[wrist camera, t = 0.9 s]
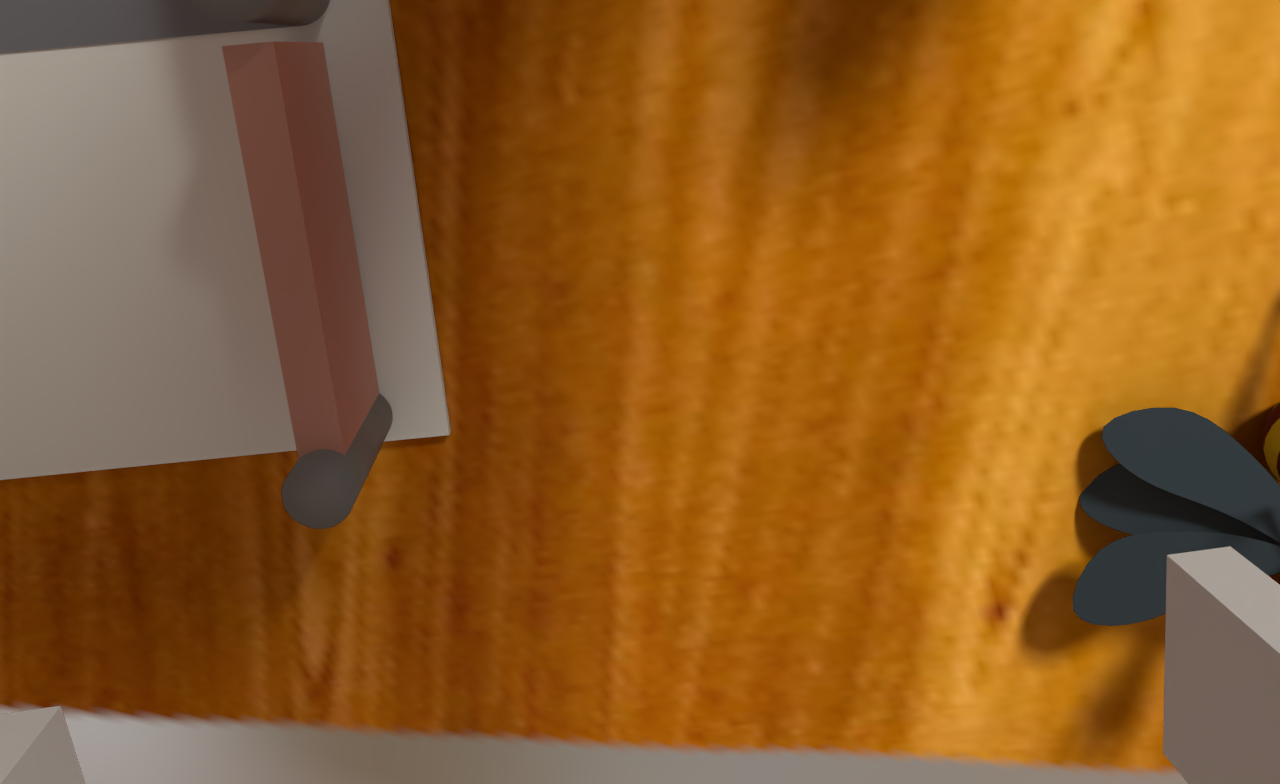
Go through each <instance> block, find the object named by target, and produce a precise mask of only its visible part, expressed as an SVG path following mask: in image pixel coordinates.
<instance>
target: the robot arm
mask: <svg viewBox="0 0 1280 784" xmlns="http://www.w3.org/2000/svg"><path fill="white" fill-rule="evenodd" d="M1163 754H1164V755H1165V756H1166V757H1167V758H1168V760H1169V761H1170V762H1171V763H1172V764H1173V766H1174V767H1175V768H1176V769H1177V771H1178V772H1179V773H1180V774H1181V775H1182V777H1183V778H1184V779H1185V780H1186V781H1187V783H1188V784H1280V585H1279V584H1278V583H1277V582H1276V581H1274V580H1273V579H1272V578H1270V577H1269V576H1268V575H1267V574H1265V573H1264V572H1263V571H1261V570H1260V569H1259V568H1258V567H1256V566H1255V565H1254V564H1252V563H1251V562H1250V561H1249V560H1247V559H1246V558H1245V557H1243V556H1242V555H1241V554H1240V553H1238V552H1237V551H1236V550H1234V549H1233V548H1232V547H1231V546H1229V547H1222V548H1214V549H1207V550H1200V551H1192V552H1185V553H1178V554H1170V555H1167V572H1166V625H1165V678H1164V731H1163ZM0 784H85V781H84V778H83V775H82V772H81V768H80V765H79V762H78V759H77V756H76V752H75V749H74V746H73V743H72V740H71V737H70V734H69V730H68V727H67V724H66V721H65V718H64V714H63V711H62V708H61V706H56V707H48V708H41V709H34V710H26V711H19V712H12V713H4V714H0Z"/></svg>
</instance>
